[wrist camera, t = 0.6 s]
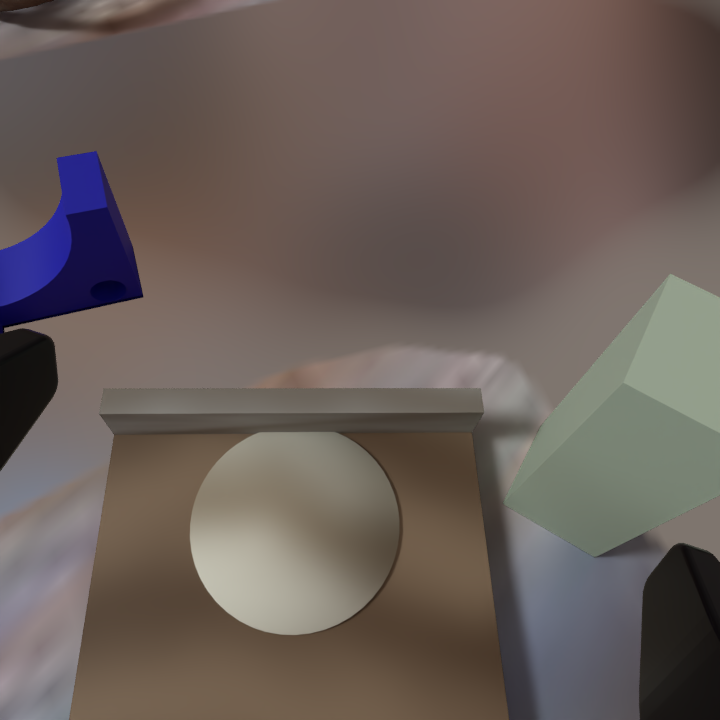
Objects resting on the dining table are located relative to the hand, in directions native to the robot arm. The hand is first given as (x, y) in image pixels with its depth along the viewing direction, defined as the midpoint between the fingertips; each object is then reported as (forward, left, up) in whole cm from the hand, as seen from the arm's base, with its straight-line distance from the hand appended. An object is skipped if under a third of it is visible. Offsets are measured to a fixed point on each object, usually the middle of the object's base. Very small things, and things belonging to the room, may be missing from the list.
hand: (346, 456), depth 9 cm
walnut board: (-1, +1, -16) cm, 16 cm away
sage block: (+4, -10, -16) cm, 19 cm away
